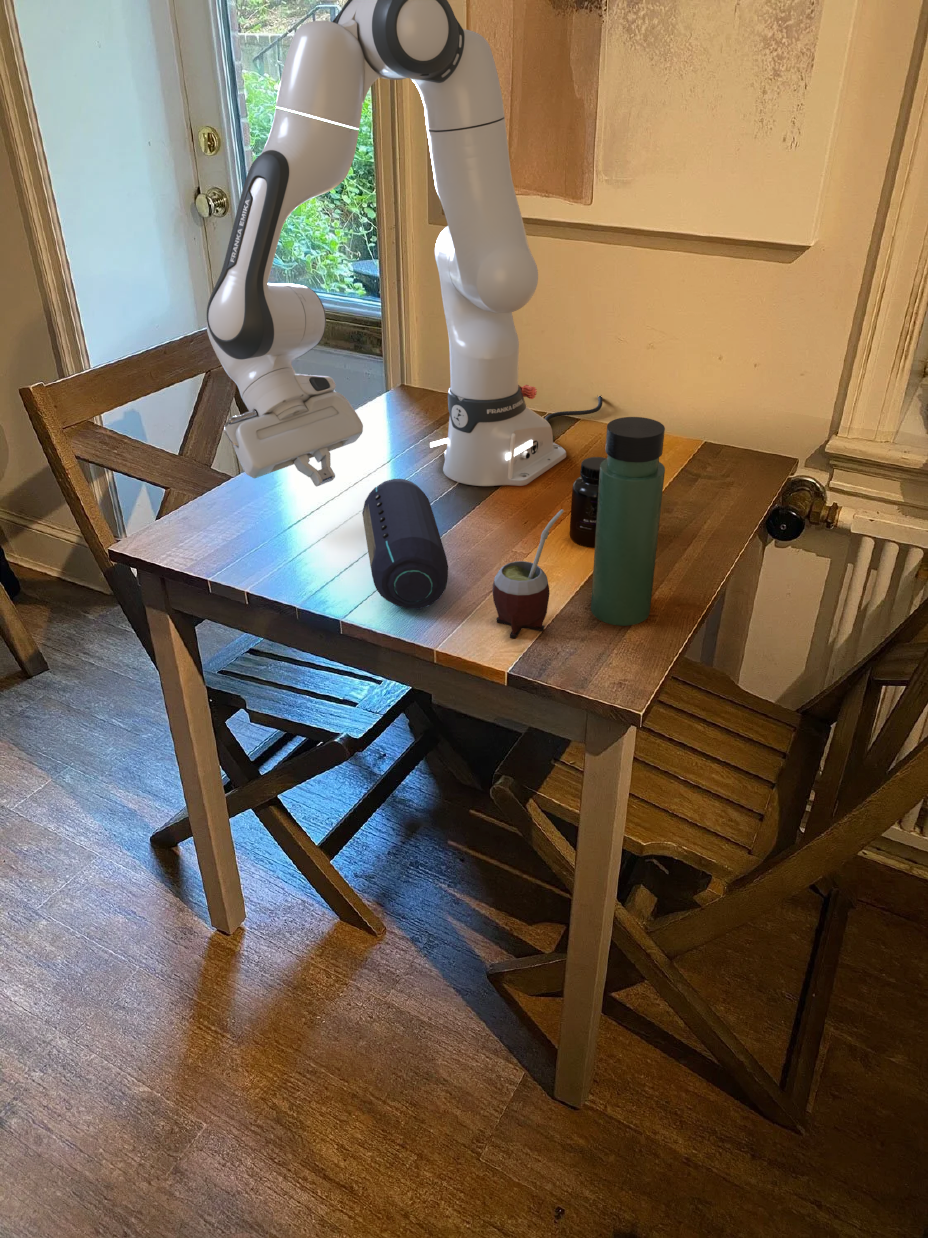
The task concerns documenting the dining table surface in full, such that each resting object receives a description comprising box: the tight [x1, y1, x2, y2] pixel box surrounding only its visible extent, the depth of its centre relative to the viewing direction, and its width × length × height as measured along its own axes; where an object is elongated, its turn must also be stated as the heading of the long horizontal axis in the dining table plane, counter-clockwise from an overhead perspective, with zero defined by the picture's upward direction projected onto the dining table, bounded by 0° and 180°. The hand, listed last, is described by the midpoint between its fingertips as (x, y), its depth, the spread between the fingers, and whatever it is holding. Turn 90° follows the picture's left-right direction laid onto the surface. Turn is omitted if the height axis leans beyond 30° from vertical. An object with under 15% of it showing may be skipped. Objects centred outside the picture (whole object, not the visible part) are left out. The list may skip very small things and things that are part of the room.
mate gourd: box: [491, 508, 565, 640], centre depth 115 cm, size 8×8×15 cm
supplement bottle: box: [569, 456, 607, 549], centre depth 135 cm, size 7×7×12 cm
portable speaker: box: [361, 478, 449, 610], centre depth 128 cm, size 25×10×10 cm, turn 9°
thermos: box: [590, 416, 666, 627], centre depth 115 cm, size 8×8×25 cm
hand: (326, 481), depth 138 cm, fingers closed
